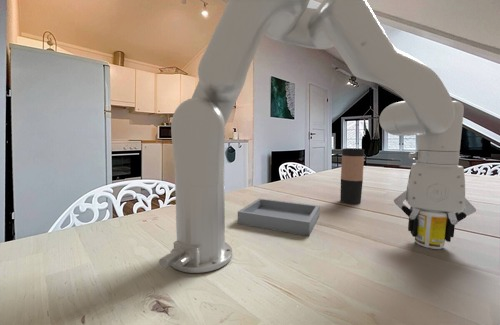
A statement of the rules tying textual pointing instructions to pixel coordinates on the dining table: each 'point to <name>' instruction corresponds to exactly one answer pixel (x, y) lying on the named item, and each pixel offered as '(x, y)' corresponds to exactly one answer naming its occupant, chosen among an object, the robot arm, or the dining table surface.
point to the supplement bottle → (431, 229)
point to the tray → (280, 216)
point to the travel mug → (352, 175)
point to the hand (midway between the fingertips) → (429, 236)
